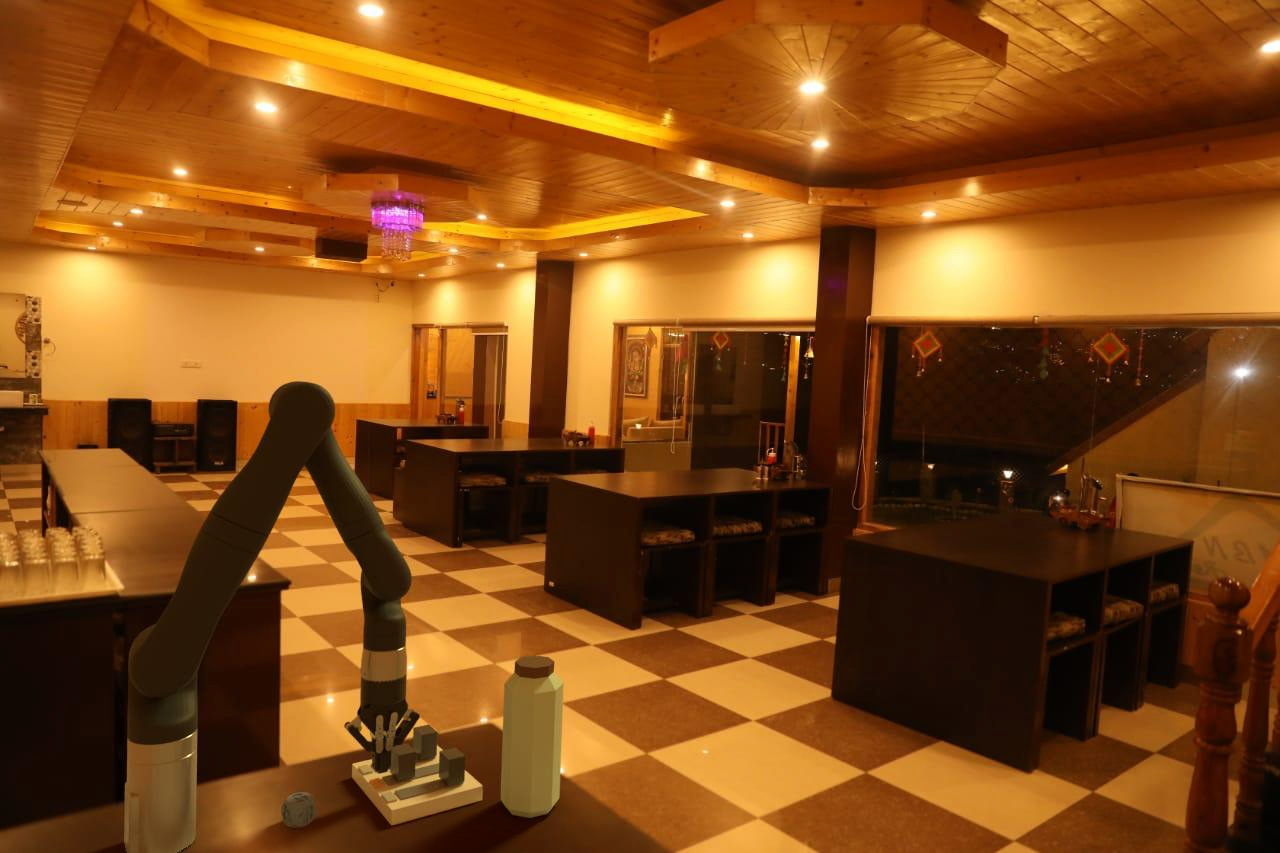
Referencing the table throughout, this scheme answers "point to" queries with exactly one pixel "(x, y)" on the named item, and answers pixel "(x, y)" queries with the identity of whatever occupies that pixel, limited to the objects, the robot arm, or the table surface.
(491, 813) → the table surface
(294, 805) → the decorative dice
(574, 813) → the table surface
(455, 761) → the block
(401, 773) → the block
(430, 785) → the breaker panel
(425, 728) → the block
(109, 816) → the table surface
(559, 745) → the water bottle
